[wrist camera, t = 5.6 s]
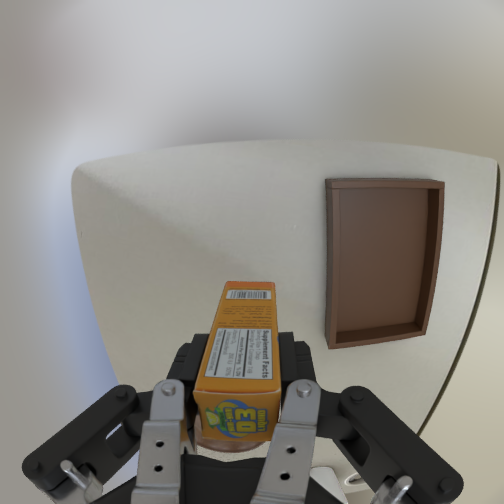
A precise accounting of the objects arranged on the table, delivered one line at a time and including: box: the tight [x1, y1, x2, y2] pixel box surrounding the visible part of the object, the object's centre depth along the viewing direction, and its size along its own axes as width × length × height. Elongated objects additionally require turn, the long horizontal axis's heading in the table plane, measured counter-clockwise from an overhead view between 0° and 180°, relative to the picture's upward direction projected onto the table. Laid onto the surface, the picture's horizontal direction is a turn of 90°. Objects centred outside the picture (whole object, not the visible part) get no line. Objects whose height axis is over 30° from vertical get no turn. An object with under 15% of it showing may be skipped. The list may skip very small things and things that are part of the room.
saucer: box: [195, 415, 266, 453], centre depth 40 cm, size 15×15×3 cm
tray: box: [325, 178, 445, 349], centre depth 31 cm, size 20×14×3 cm
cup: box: [310, 467, 348, 504], centre depth 42 cm, size 12×12×12 cm
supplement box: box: [193, 281, 281, 442], centre depth 14 cm, size 3×3×10 cm
